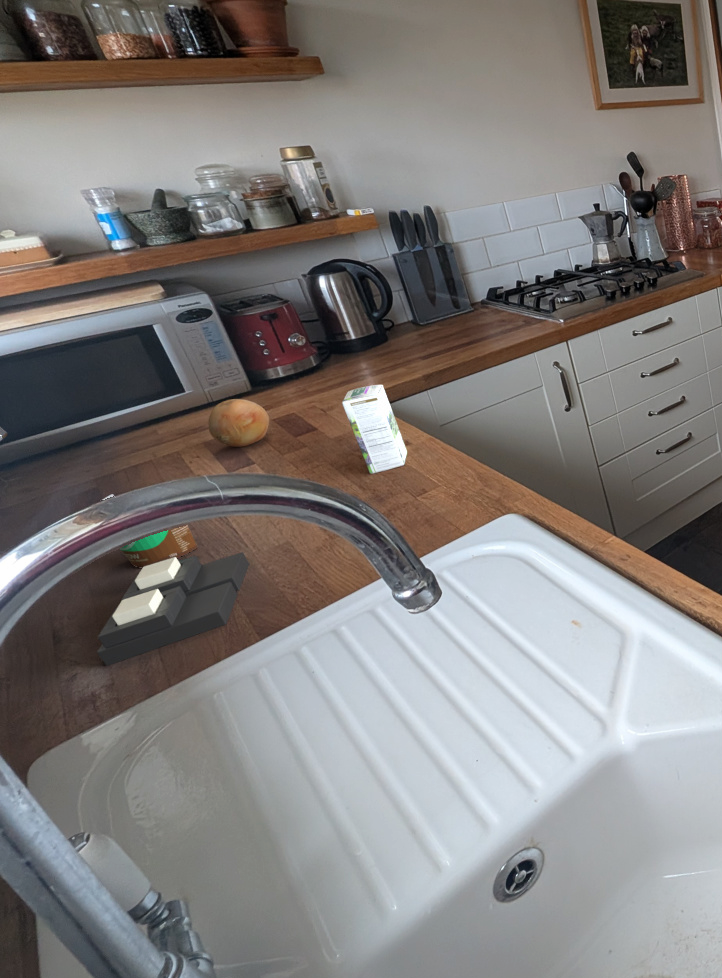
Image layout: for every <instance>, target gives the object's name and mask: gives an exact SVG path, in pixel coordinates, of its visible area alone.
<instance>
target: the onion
mask: <svg viewBox="0 0 722 978" xmlns="http://www.w3.org/2000/svg"><path fill="white" fill-rule="evenodd" d="M269 425H270V417H269V414H268V413H267V411H266V410H265V408H263V407H262V406H261V405H259V404H258V403H256V402H253V401H251V400H248V399H243V398H233V399H232V398H231V399H226V400H224V401H221V402H219V403H217V404H216V405H215V406H214V407H213V408H212V409H211V411H210V414H209V418H208V431H209V434H210V435H211V436H212V438H213V439H214V440H215V441H217V442H219V443H221V444H223V445H225V446H228V447H235V448H242V447H247V446H249V445H251V444H254V443H256V442H258V441H260V440H262V439H264V438H265V436H266V434H267V431H268V429H269Z"/></svg>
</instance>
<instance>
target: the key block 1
mask: <svg viewBox="0 0 722 978" xmlns="http://www.w3.org/2000/svg"><path fill="white" fill-rule="evenodd" d="M178 561H179V563H180V565H181V566H182V567H181V569H180V570H179V572H178V574H177V576H176V578H175V579H172V580H169V581H166V582H163V583H160V584H157V585H153V586H150V587H147V588H144V589H141V590H140V589H139V587H138V586H137V584H136V583H135V579H136V578H137V576H138V574H139V573H140V572H137V574H136V575H135V578H134V579H133V581H132V582H131V584H130V585H129V587H128V588H127V590H126V592H125V593H124V595H123V597H122V598H121V601H122V600H124V599H127V598H130V597H133V596H136V595H140V594H143V593H146V592H149V591H152V590H155V589H158V590H159V591H160V592H163V591H166V590H170V589H173V588H176V587H179V586H180V587H181V588H182V590H183V592H184V593H185V595H186V596H189V595H192V594H195V593H198V592H201V591H204V590H207V589H210V588H213V587H216V586H219V585H222V584H225V583H228V582H231V583H232V585H233V587H234V589H235V590H236V592H238V591H240V590H241V587H242V584H243V582H244V578H245V576H246V574H247V571H248V569H249V567H250V563H249V561H248V558H247V557H246V556H245V552H238V553H235V554H231V555H229V556H226V557H222V558H220V559H215V560H213V561H210V562H207V563H203V564H202V563H201V561H200V559H199V557H198V556H197V555H193V556H189V557H186V558H181V559H180V560H179V559H178Z"/></svg>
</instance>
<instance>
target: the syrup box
mask: <svg viewBox="0 0 722 978" xmlns="http://www.w3.org/2000/svg"><path fill="white" fill-rule="evenodd" d="M341 404H342V408H343V410H344V412H345V414H346V417H347V420H348V422H349V424H350V427H351V430H352V432H353V435H354V436H355V439H356V442H357V445H358V447H359V449H360V452H361V455H362V458H363V460H364V462H365V464H366V468H367V470H368V472H369V474H372V475H373V474H376V473H380V472H385V471H389V470H392V469H395V468H398V467H403V466H405V464H406V460H407V456H408V450H407V447H406V444H405V441H404V438H403V436H402V433H401V431H400V428H399V425H398V423H397V420H396V419H397V418H396V417H395V414H394V412H393V409H392V407H391V403H390V401H389V398H388V396H387V393H386V390H385V388H384V385H383V384H374V385H373V384H372V385H367V386H363V387H362V386H361V387H357V388H354V389H351V390H348V391H347V392H346V394H345V396H344V398H343V400H342V402H341Z"/></svg>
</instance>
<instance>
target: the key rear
mask: <svg viewBox="0 0 722 978" xmlns="http://www.w3.org/2000/svg"><path fill="white" fill-rule="evenodd" d="M181 567H182V566H181V565H180V563H179V559H177V558H176V557H174V558H171V559H167V560H164V561H161V562H158V563H154V564H151V565H148V566H145V567H143V568H142V569H141V570H140V571H139V572H138V573H139V574H138V573H137V574H138V576H137V575H136V576H137V578H136V579H135V578H134V579H135V583H136V584H137V586H138V587H139V589H140V590H141V589H144V588H147V587H150V586H153V585H157V584H160V583H163V582H166V581H169V580H172V579H175V578H176V576H177V574H178V572H179V570H180V569H181Z"/></svg>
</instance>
